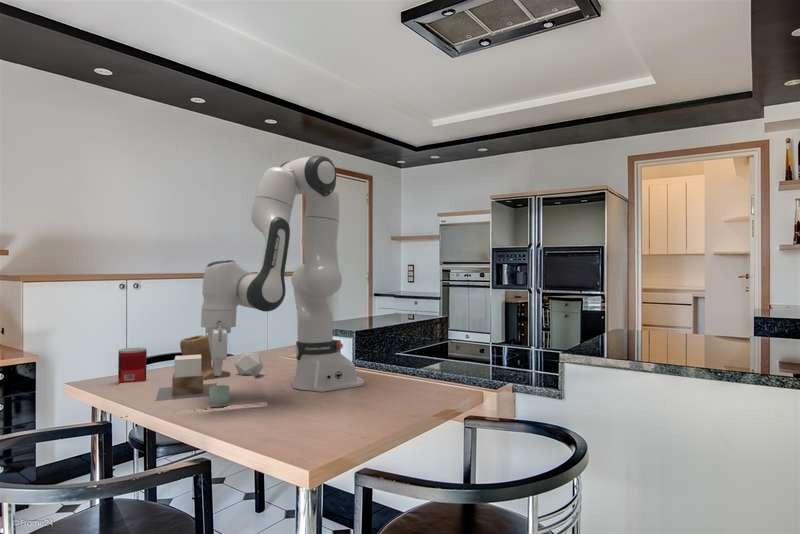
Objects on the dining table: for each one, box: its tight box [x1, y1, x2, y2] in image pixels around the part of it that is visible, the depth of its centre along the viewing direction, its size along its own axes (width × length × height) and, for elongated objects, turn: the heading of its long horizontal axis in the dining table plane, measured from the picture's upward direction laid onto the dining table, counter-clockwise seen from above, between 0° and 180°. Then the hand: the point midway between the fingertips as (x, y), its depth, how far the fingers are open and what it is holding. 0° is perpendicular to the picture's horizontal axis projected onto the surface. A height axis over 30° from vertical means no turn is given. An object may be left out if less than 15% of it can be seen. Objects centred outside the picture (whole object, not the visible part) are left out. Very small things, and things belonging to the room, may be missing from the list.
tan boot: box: [179, 334, 231, 381], centre depth 161 cm, size 15×12×15 cm
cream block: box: [173, 355, 201, 378], centre depth 140 cm, size 7×7×5 cm
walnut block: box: [171, 371, 204, 396], centre depth 140 cm, size 8×8×5 cm
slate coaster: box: [154, 382, 218, 402], centre depth 140 cm, size 16×16×1 cm
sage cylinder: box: [209, 384, 230, 409], centre depth 130 cm, size 5×5×5 cm
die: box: [234, 352, 264, 378], centre depth 166 cm, size 8×9×10 cm
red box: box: [117, 346, 148, 385], centre depth 157 cm, size 8×8×11 cm
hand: (216, 371), depth 129 cm, fingers open, 8 cm apart
